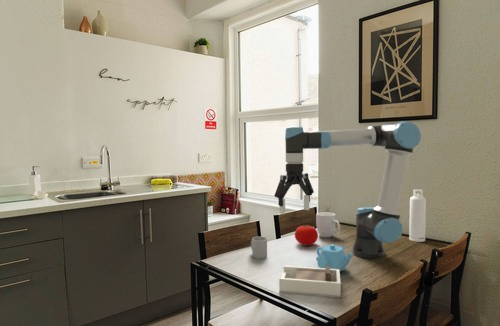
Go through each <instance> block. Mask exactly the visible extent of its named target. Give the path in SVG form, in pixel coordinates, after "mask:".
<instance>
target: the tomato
mask: <svg viewBox="0 0 500 326" xmlns="http://www.w3.org/2000/svg"><path fill="white" fill-rule="evenodd" d="M318 237H319V233H318V231H317V228H315V227H313V226H311V225H308V224H306V225H300V226H299V227H297V228H296V229H295V231H294V238H295V241H296V242H298V243H299V244H301V245H302V246H311V245H314V244H315V243H316V242H317V240H318Z"/></svg>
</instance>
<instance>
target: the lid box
mask: <svg viewBox="0 0 500 326" xmlns="http://www.w3.org/2000/svg"><path fill="white" fill-rule="evenodd" d="M297 270H310V271H324V272H325V271H326V268H319V267H312V266H297V265H296V266H295V265H283V271H282V274H281V277H279V278H278V280H279V281H278V282H279V283H278V287H279V290H278V291H279V293H280V294H293V295H303V296H304V295H305V296H315V297H316V296H317V297H327V298H329V297H330V298H341V289H342V288H341V274H340V273H341V271H339V269H330V272H333V282H331V281H317V280H304V279H295V276H296V272H297Z"/></svg>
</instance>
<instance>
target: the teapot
mask: <svg viewBox="0 0 500 326" xmlns="http://www.w3.org/2000/svg"><path fill="white" fill-rule="evenodd" d="M320 249H321V250H320ZM344 249H345V247H344V246H343V245H341V244H340V245H339V246H338V245H336V244H334V243H332V244H328V245H326V246H318V247H317V248H316V253H317V257H316V261H317V265H318V268H326V265H327V266H330V269H339V271H340V272H343V271H344V270H345V269H346V268H347V266H348V265H349V263H350V261H351V259H352V256H353V255H354V254H353V252H348V254H347V255H346V252H345V250H344Z"/></svg>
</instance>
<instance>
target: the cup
mask: <svg viewBox="0 0 500 326" xmlns="http://www.w3.org/2000/svg"><path fill="white" fill-rule="evenodd" d="M250 249H251V250H252V251H251V252H252V257H253V258H254V259H256V258H257V259H258V260H262V259H263V260H264V259H265V258H267V257H268V238H267V237H265V236H254V237H252V239H251V241H250ZM257 259H256V260H257Z"/></svg>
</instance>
